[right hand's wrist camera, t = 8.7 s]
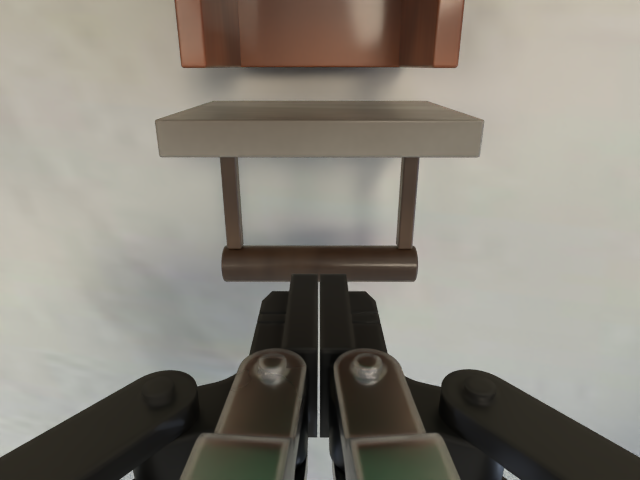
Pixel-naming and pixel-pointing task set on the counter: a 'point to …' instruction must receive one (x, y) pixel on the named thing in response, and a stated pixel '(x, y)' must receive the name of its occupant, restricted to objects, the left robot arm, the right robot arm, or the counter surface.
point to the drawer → (319, 113)
